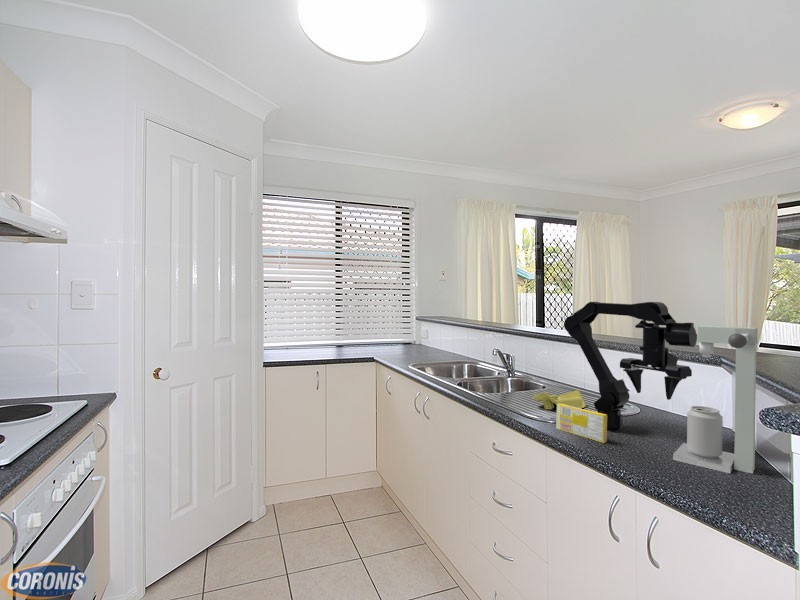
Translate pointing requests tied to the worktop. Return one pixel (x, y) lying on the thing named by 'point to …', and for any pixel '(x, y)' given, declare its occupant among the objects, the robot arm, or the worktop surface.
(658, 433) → the worktop surface
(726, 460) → the plate
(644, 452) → the worktop surface
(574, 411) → the candy box
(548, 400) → the plastic component
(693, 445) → the can
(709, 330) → the press frame
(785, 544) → the worktop surface
